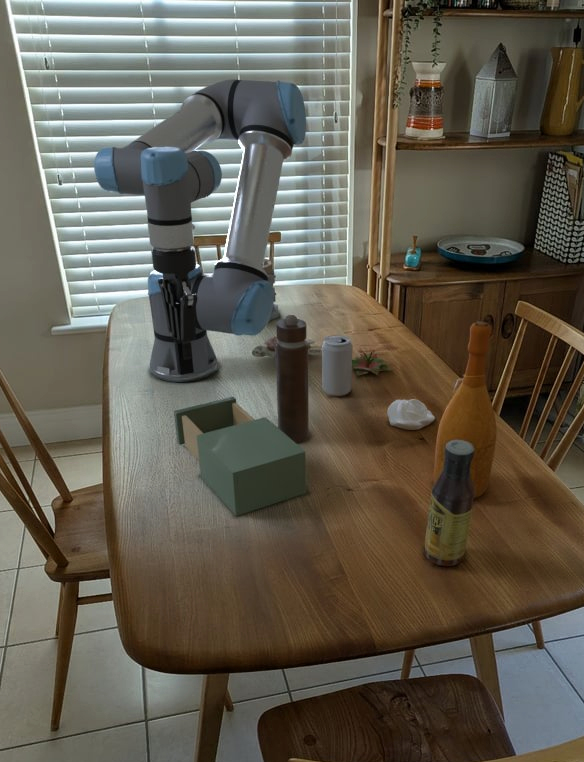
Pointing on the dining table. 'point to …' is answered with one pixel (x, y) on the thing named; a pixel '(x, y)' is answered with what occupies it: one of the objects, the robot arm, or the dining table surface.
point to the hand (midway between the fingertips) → (185, 372)
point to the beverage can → (336, 365)
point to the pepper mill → (292, 378)
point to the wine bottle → (471, 413)
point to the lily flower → (369, 364)
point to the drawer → (207, 420)
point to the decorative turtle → (269, 348)
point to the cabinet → (252, 465)
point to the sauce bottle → (451, 506)
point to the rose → (409, 414)
